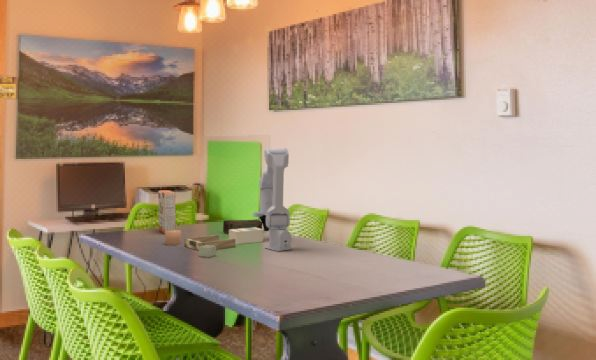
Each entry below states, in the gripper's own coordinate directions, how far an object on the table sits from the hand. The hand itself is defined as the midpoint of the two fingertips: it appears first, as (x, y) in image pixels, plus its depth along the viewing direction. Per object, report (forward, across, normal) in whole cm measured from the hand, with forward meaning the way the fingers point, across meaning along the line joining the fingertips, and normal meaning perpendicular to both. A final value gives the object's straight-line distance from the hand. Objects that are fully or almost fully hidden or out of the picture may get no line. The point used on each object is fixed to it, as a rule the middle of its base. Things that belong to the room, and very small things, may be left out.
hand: (266, 230), depth 276 cm
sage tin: (+4, +43, +16) cm, 46 cm away
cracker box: (+4, +28, -46) cm, 54 cm away
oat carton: (+4, +12, 0) cm, 13 cm away
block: (+4, +41, -16) cm, 44 cm away
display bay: (+4, +31, 0) cm, 31 cm away
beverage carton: (+4, -2, -23) cm, 23 cm away
